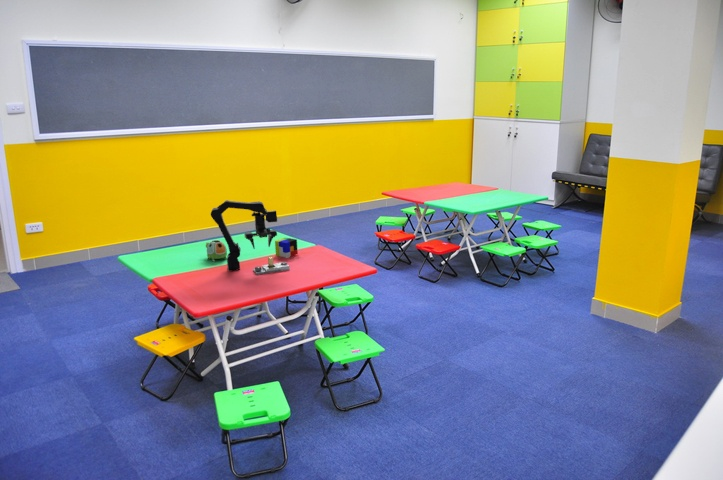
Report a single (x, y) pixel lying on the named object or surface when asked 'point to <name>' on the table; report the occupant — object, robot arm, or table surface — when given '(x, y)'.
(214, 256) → the turtle holder
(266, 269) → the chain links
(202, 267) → the table surface
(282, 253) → the puzzle toy
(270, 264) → the brass pin
